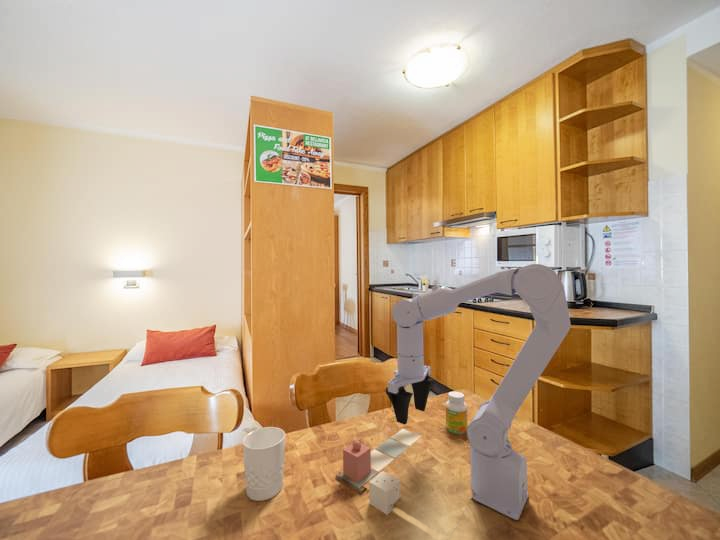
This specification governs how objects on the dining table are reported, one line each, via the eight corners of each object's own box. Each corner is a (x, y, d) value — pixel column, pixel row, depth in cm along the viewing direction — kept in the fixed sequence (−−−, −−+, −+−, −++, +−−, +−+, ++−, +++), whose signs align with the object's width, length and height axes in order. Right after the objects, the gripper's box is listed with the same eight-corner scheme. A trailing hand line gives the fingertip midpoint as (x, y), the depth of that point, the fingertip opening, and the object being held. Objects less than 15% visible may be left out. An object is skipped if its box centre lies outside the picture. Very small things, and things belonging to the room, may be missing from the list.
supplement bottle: (445, 435, 76) (445, 397, 77) (446, 425, 82) (445, 389, 82) (468, 438, 75) (467, 399, 75) (467, 427, 80) (466, 391, 80)
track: (424, 439, 74) (424, 436, 74) (361, 494, 56) (361, 490, 56) (400, 430, 79) (400, 427, 79) (335, 478, 61) (335, 474, 61)
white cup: (266, 470, 64) (266, 423, 64) (294, 483, 60) (293, 433, 60) (234, 494, 57) (233, 441, 57) (262, 510, 53) (262, 453, 53)
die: (400, 502, 54) (400, 479, 55) (387, 515, 51) (387, 492, 52) (382, 491, 57) (382, 470, 57) (369, 504, 54) (369, 481, 54)
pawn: (370, 472, 61) (370, 440, 61) (357, 483, 58) (357, 449, 58) (356, 464, 64) (356, 433, 64) (343, 474, 61) (342, 441, 61)
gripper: (412, 344, 74) (412, 400, 73) (375, 357, 63) (376, 422, 63) (438, 349, 69) (439, 408, 69) (404, 364, 58) (405, 434, 58)
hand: (411, 415), depth 65 cm, fingers open, 7 cm apart
